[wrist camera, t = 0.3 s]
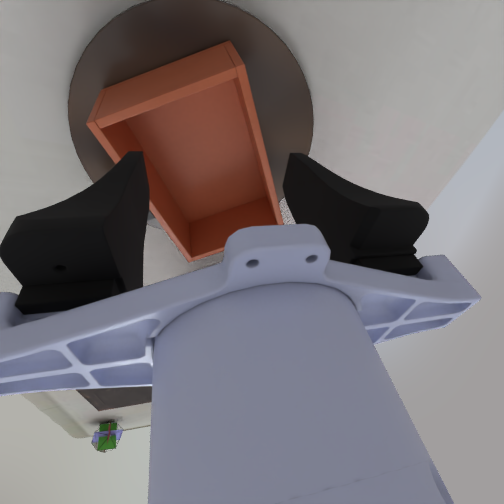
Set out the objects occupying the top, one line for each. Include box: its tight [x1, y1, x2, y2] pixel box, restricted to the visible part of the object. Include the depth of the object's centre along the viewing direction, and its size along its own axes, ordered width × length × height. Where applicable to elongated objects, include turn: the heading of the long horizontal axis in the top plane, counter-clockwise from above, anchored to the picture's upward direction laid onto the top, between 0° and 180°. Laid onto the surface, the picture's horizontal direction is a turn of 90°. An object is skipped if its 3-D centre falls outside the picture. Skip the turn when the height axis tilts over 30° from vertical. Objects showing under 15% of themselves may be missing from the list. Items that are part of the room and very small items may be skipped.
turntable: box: [68, 0, 313, 230], centre depth 23 cm, size 19×19×1 cm
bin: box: [86, 40, 284, 262], centre depth 21 cm, size 13×13×5 cm
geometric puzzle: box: [92, 420, 124, 452], centre depth 72 cm, size 7×7×8 cm
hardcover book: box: [75, 386, 152, 411], centre depth 58 cm, size 16×23×2 cm
